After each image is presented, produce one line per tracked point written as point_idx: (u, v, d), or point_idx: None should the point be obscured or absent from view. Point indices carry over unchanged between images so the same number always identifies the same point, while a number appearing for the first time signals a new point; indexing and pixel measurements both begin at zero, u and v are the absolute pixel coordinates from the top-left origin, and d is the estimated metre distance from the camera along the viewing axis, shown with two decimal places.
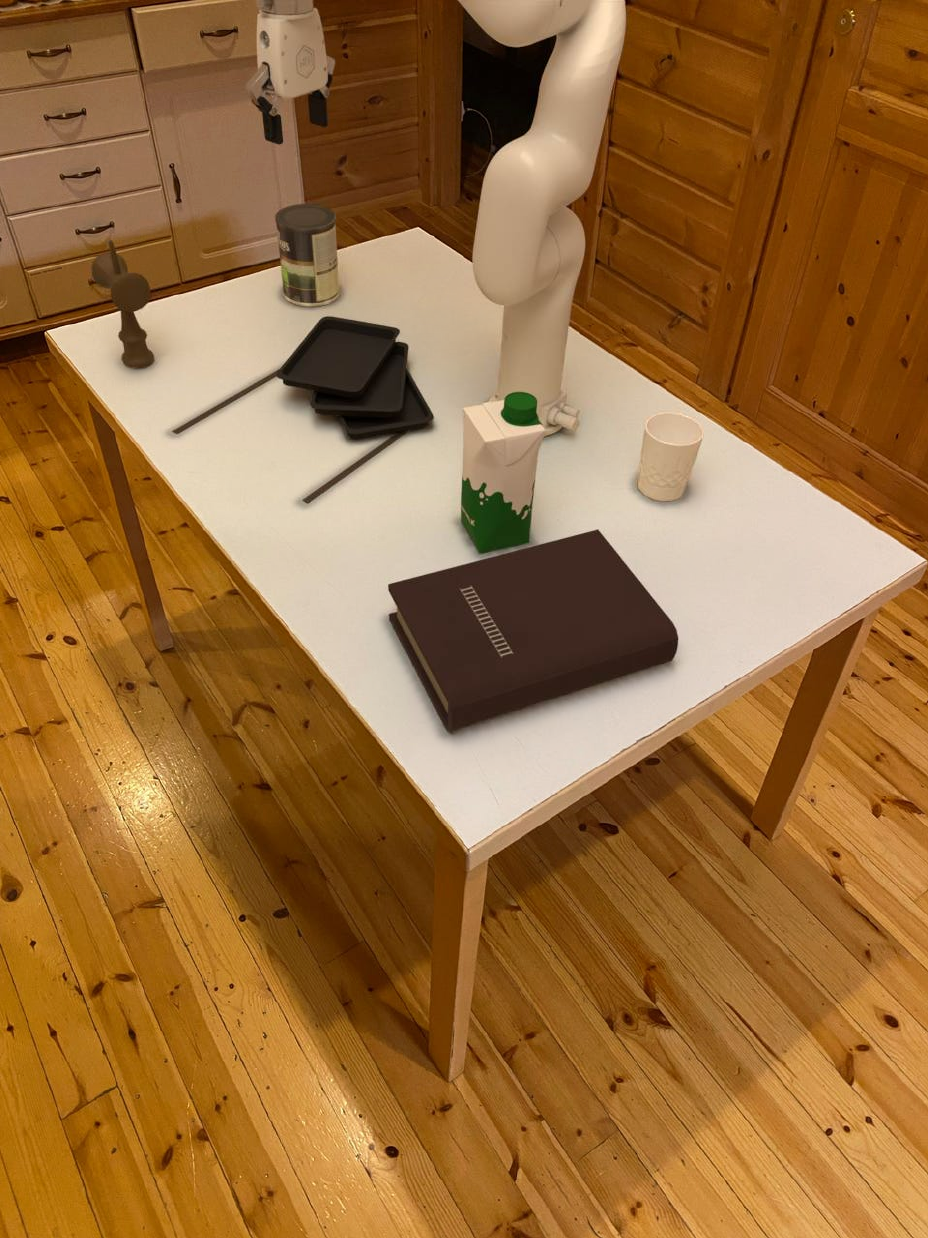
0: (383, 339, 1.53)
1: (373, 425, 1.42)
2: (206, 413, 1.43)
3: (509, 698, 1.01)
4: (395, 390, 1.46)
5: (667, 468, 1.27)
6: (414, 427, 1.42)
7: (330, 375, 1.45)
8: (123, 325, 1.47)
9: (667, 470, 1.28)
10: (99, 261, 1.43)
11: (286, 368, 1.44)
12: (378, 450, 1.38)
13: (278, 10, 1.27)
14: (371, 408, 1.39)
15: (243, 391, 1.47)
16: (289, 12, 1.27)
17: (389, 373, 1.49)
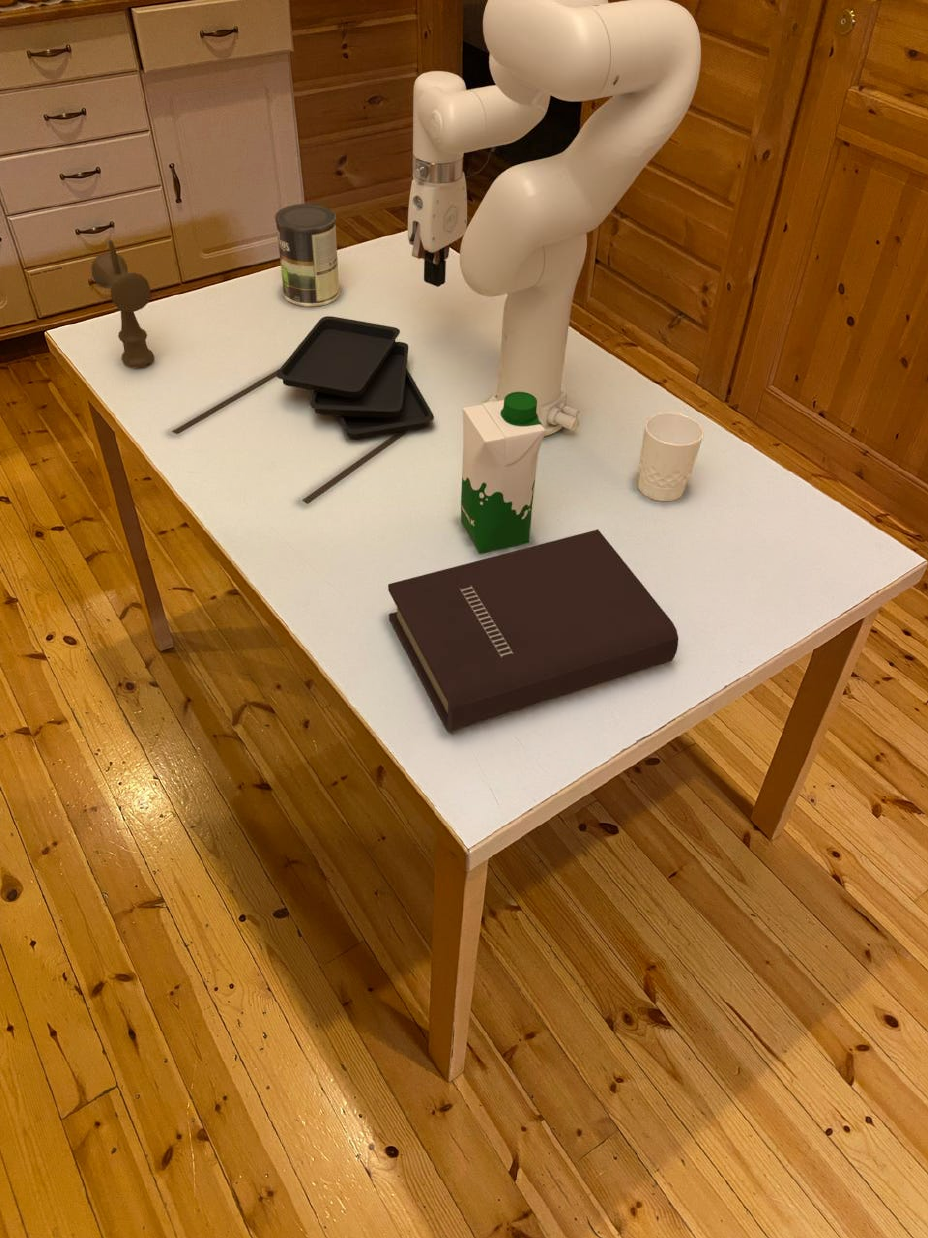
0: (383, 339, 1.53)
1: (373, 425, 1.42)
2: (206, 413, 1.43)
3: (509, 698, 1.01)
4: (395, 390, 1.46)
5: (667, 468, 1.27)
6: (414, 427, 1.42)
7: (330, 375, 1.45)
8: (123, 325, 1.47)
9: (667, 470, 1.28)
10: (99, 261, 1.43)
11: (286, 368, 1.44)
12: (378, 450, 1.38)
13: (433, 179, 1.39)
14: (371, 408, 1.39)
15: (243, 391, 1.47)
16: (443, 181, 1.39)
17: (389, 373, 1.49)
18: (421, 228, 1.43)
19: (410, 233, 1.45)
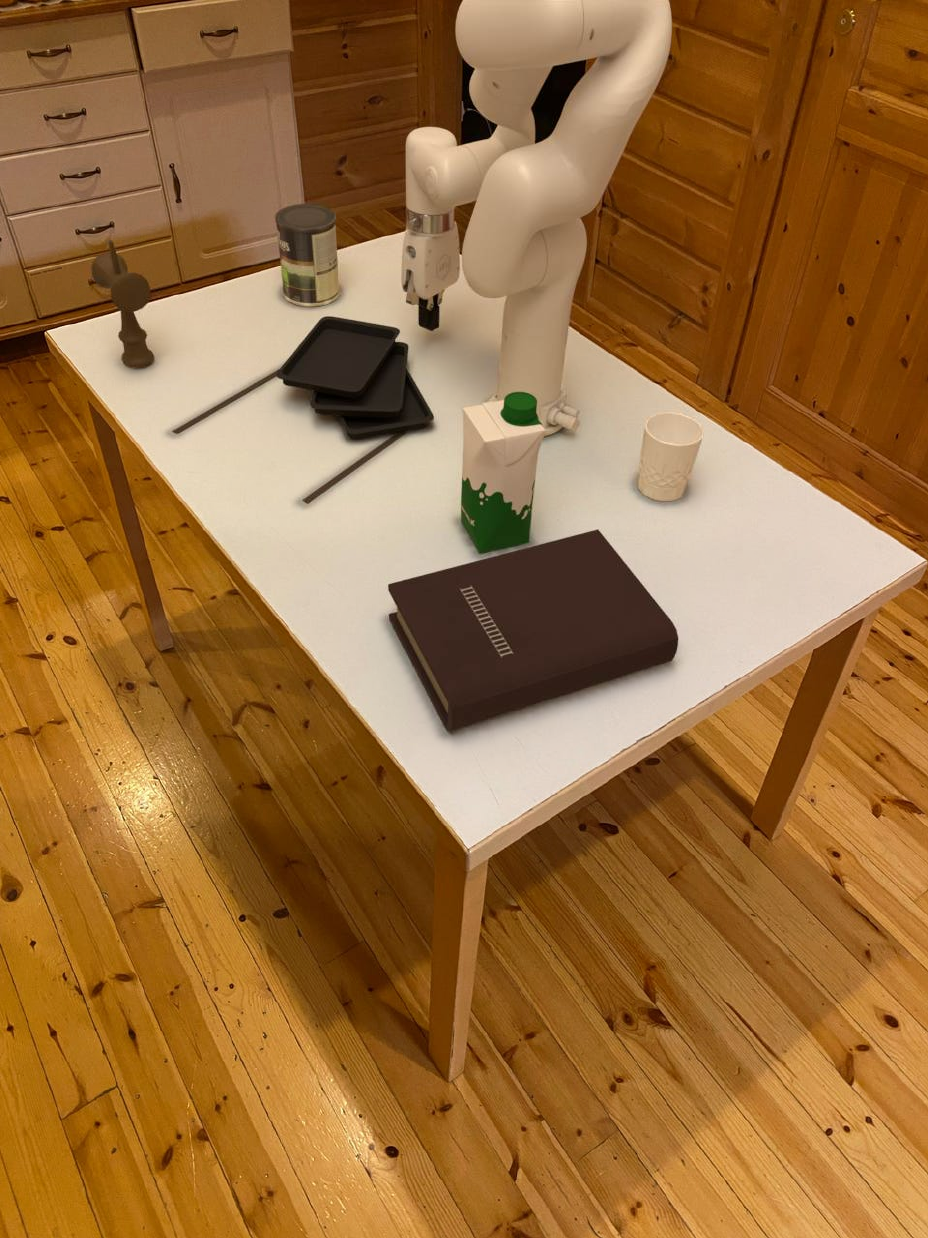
0: (383, 339, 1.53)
1: (373, 425, 1.42)
2: (206, 413, 1.43)
3: (509, 698, 1.01)
4: (395, 390, 1.46)
5: (667, 468, 1.27)
6: (414, 427, 1.42)
7: (330, 375, 1.45)
8: (123, 325, 1.47)
9: (667, 470, 1.28)
10: (99, 261, 1.43)
11: (286, 368, 1.44)
12: (378, 450, 1.38)
13: (425, 230, 1.43)
14: (371, 408, 1.39)
15: (243, 391, 1.47)
16: (435, 231, 1.43)
17: (389, 373, 1.49)
18: (414, 276, 1.47)
19: (404, 281, 1.49)
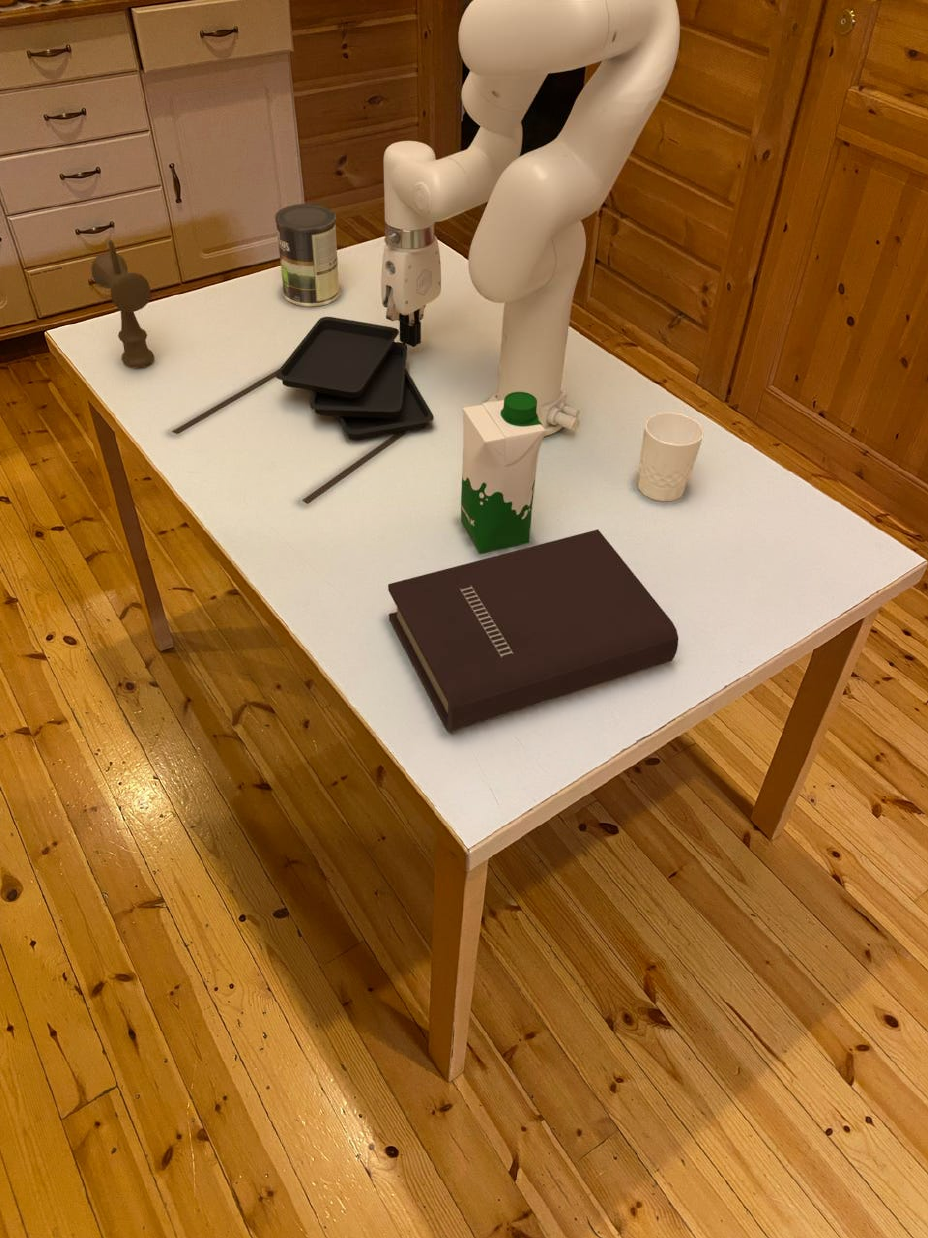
0: (382, 339, 1.53)
1: (373, 425, 1.42)
2: (206, 413, 1.43)
3: (509, 698, 1.01)
4: (394, 390, 1.46)
5: (667, 468, 1.27)
6: (414, 427, 1.41)
7: (330, 375, 1.45)
8: (123, 325, 1.47)
9: (667, 470, 1.28)
10: (99, 261, 1.43)
11: (285, 369, 1.44)
12: (378, 450, 1.38)
13: (404, 245, 1.40)
14: (371, 408, 1.39)
15: (243, 391, 1.47)
16: (414, 247, 1.40)
17: (389, 374, 1.49)
18: (394, 292, 1.44)
19: (384, 296, 1.46)
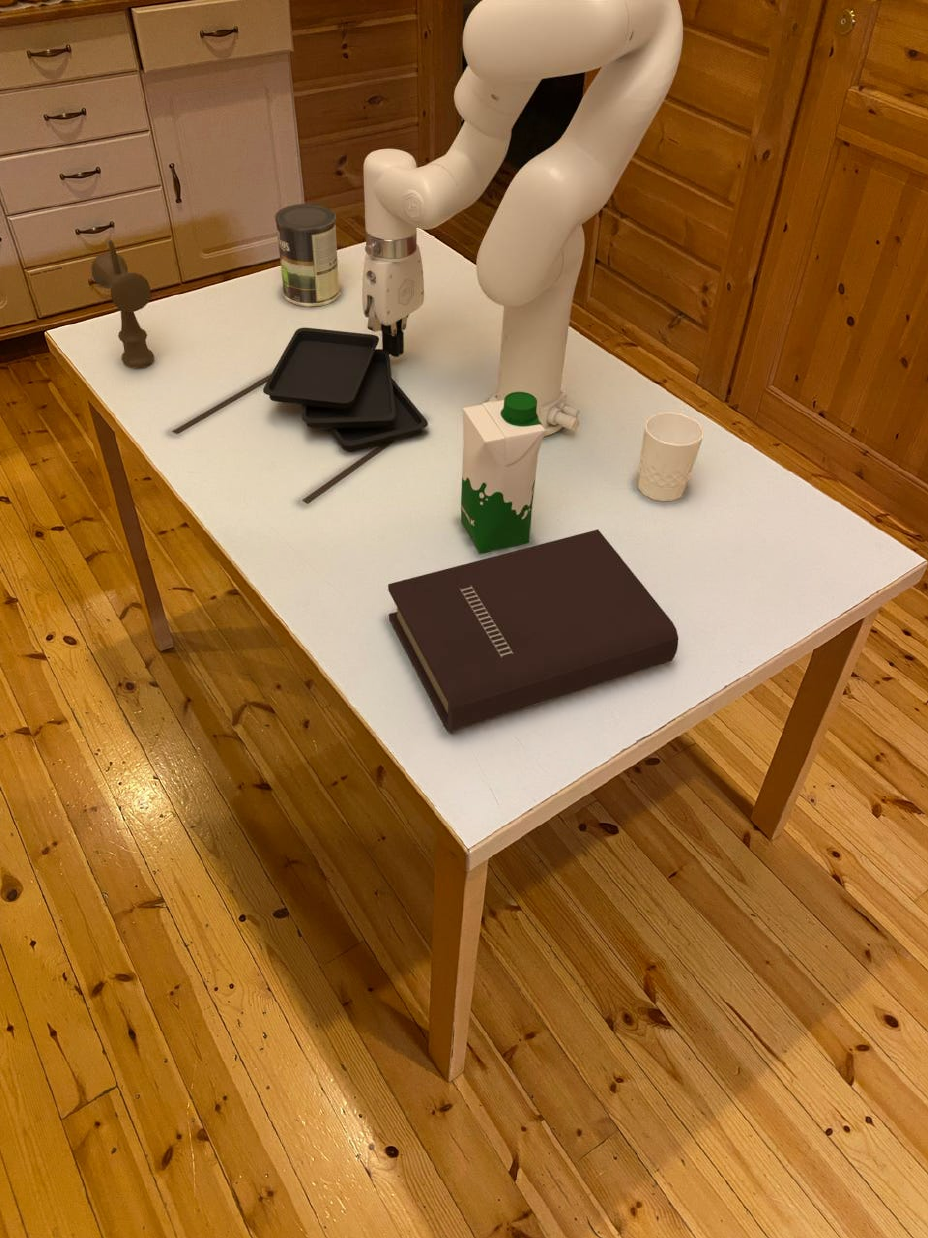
0: (362, 347, 1.51)
1: (367, 435, 1.40)
2: (206, 413, 1.43)
3: (509, 698, 1.01)
4: (383, 398, 1.44)
5: (667, 468, 1.27)
6: (409, 434, 1.40)
7: (317, 387, 1.43)
8: (123, 325, 1.47)
9: (667, 470, 1.28)
10: (99, 261, 1.43)
11: (271, 384, 1.41)
12: (378, 450, 1.38)
13: (385, 255, 1.38)
14: (365, 418, 1.37)
15: (243, 391, 1.47)
16: (395, 256, 1.38)
17: (374, 382, 1.47)
18: (375, 302, 1.42)
19: (365, 306, 1.44)
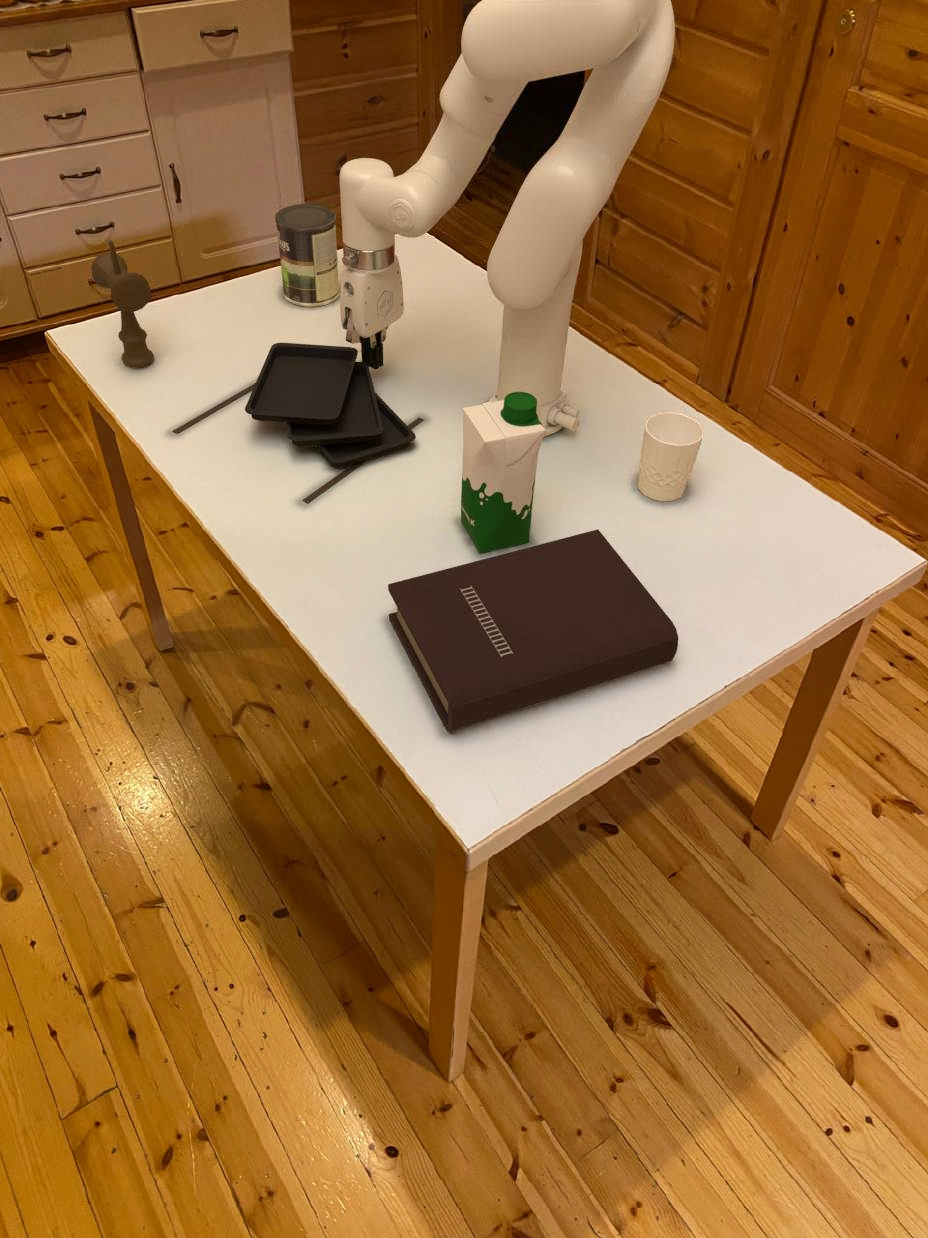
0: (340, 360, 1.48)
1: (354, 451, 1.37)
2: (206, 413, 1.43)
3: (509, 698, 1.01)
4: (367, 412, 1.42)
5: (667, 468, 1.27)
6: (397, 448, 1.38)
7: (299, 404, 1.39)
8: (123, 325, 1.47)
9: (667, 470, 1.28)
10: (99, 261, 1.43)
11: (252, 402, 1.37)
12: None
13: (363, 266, 1.35)
14: (352, 433, 1.34)
15: (243, 391, 1.47)
16: (373, 268, 1.35)
17: (356, 395, 1.45)
18: (353, 314, 1.39)
19: (343, 318, 1.41)
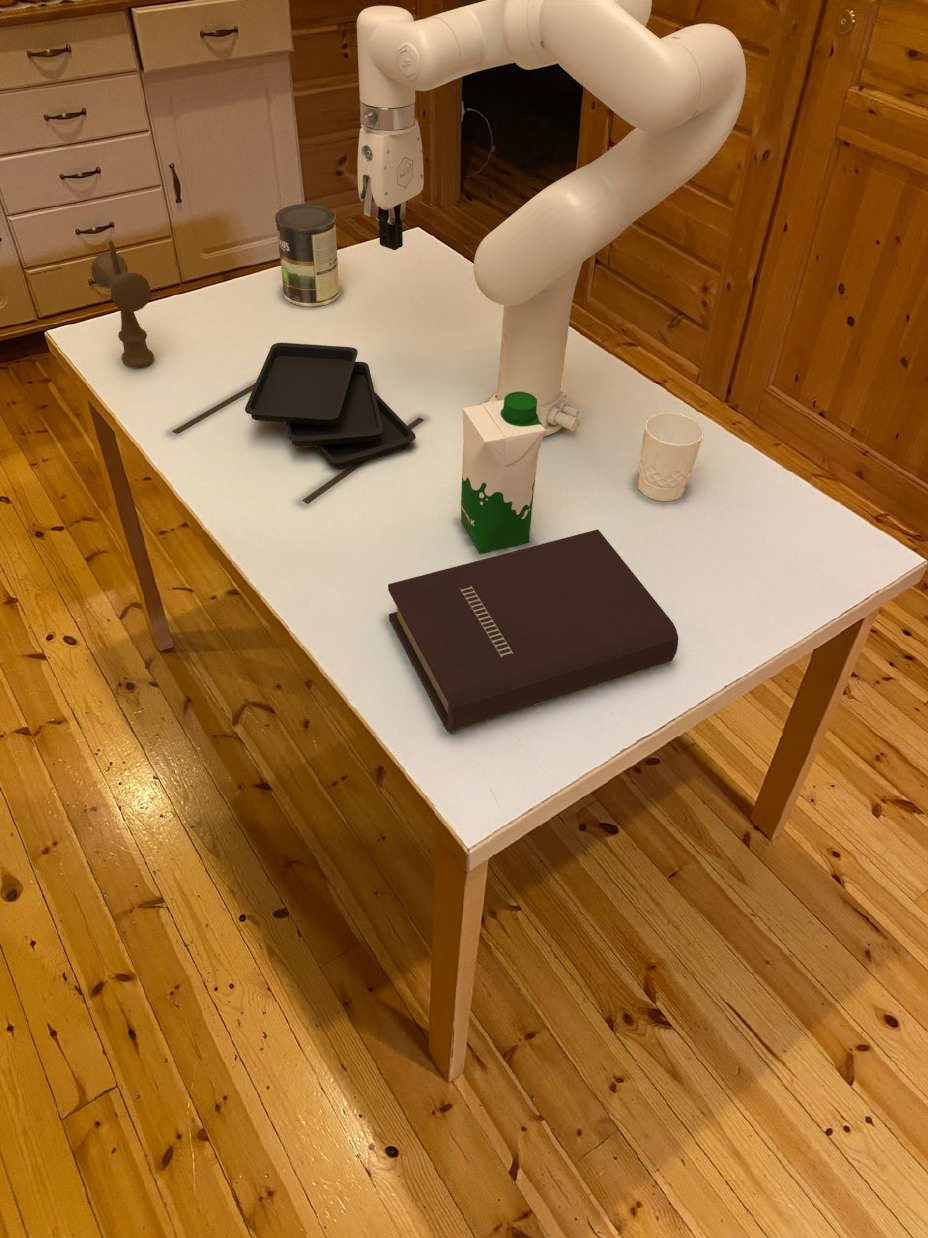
0: (340, 360, 1.48)
1: (354, 451, 1.37)
2: (206, 413, 1.43)
3: (509, 698, 1.01)
4: (367, 412, 1.42)
5: (667, 468, 1.27)
6: (397, 448, 1.38)
7: (299, 404, 1.39)
8: (123, 325, 1.47)
9: (667, 470, 1.28)
10: (99, 261, 1.43)
11: (252, 402, 1.37)
12: None
13: (382, 126, 1.26)
14: (352, 433, 1.34)
15: (243, 391, 1.47)
16: (393, 128, 1.27)
17: (356, 395, 1.44)
18: (372, 182, 1.31)
19: (361, 189, 1.33)
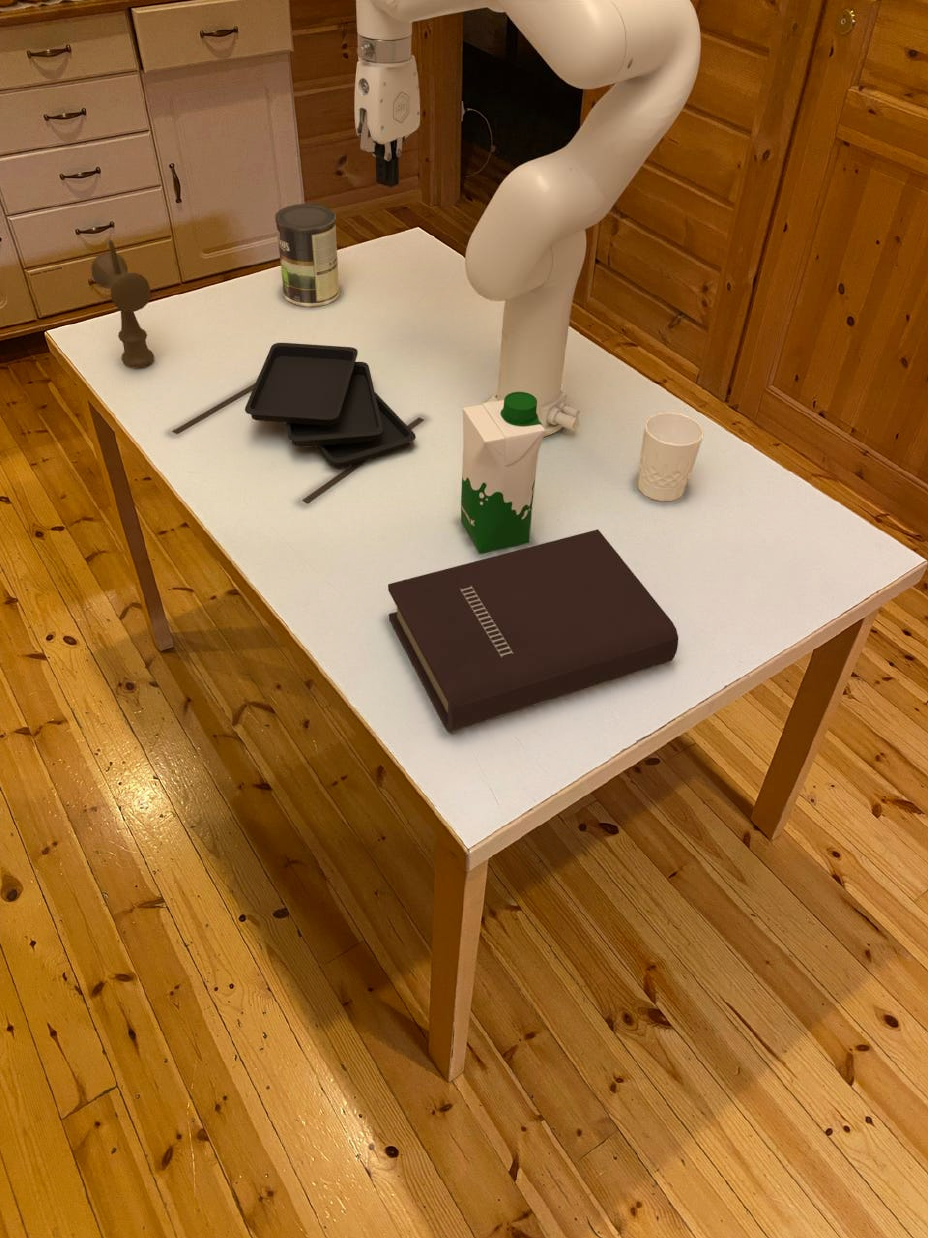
0: (340, 360, 1.48)
1: (354, 451, 1.37)
2: (206, 413, 1.43)
3: (509, 698, 1.01)
4: (367, 412, 1.42)
5: (667, 468, 1.27)
6: (397, 448, 1.38)
7: (299, 404, 1.39)
8: (123, 325, 1.47)
9: (667, 470, 1.28)
10: (99, 261, 1.43)
11: (252, 402, 1.37)
12: None
13: (379, 58, 1.28)
14: (352, 433, 1.34)
15: (243, 391, 1.47)
16: (389, 60, 1.29)
17: (356, 395, 1.44)
18: (368, 115, 1.33)
19: (357, 123, 1.35)
